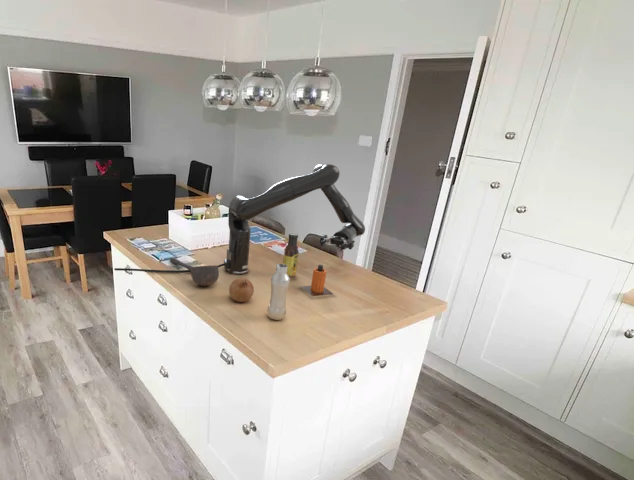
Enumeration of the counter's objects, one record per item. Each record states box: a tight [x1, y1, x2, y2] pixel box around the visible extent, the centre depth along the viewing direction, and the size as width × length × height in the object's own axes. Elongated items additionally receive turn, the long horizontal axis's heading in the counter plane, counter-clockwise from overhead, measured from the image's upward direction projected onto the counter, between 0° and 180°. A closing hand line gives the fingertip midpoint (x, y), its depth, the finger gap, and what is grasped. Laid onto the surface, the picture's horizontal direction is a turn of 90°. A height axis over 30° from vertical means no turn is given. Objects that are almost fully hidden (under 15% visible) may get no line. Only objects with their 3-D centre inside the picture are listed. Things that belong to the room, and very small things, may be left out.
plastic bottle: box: [266, 263, 291, 321], centre depth 145 cm, size 6×7×20 cm
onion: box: [228, 277, 255, 303], centre depth 159 cm, size 10×9×10 cm
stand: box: [301, 264, 334, 297], centre depth 171 cm, size 10×10×12 cm
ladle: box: [169, 257, 220, 287], centre depth 181 cm, size 12×38×10 cm, turn 35°
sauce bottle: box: [282, 232, 300, 279], centre depth 183 cm, size 6×6×20 cm
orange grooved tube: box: [310, 267, 327, 293], centre depth 171 cm, size 5×5×9 cm
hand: (331, 245), depth 175 cm, fingers open, 8 cm apart
